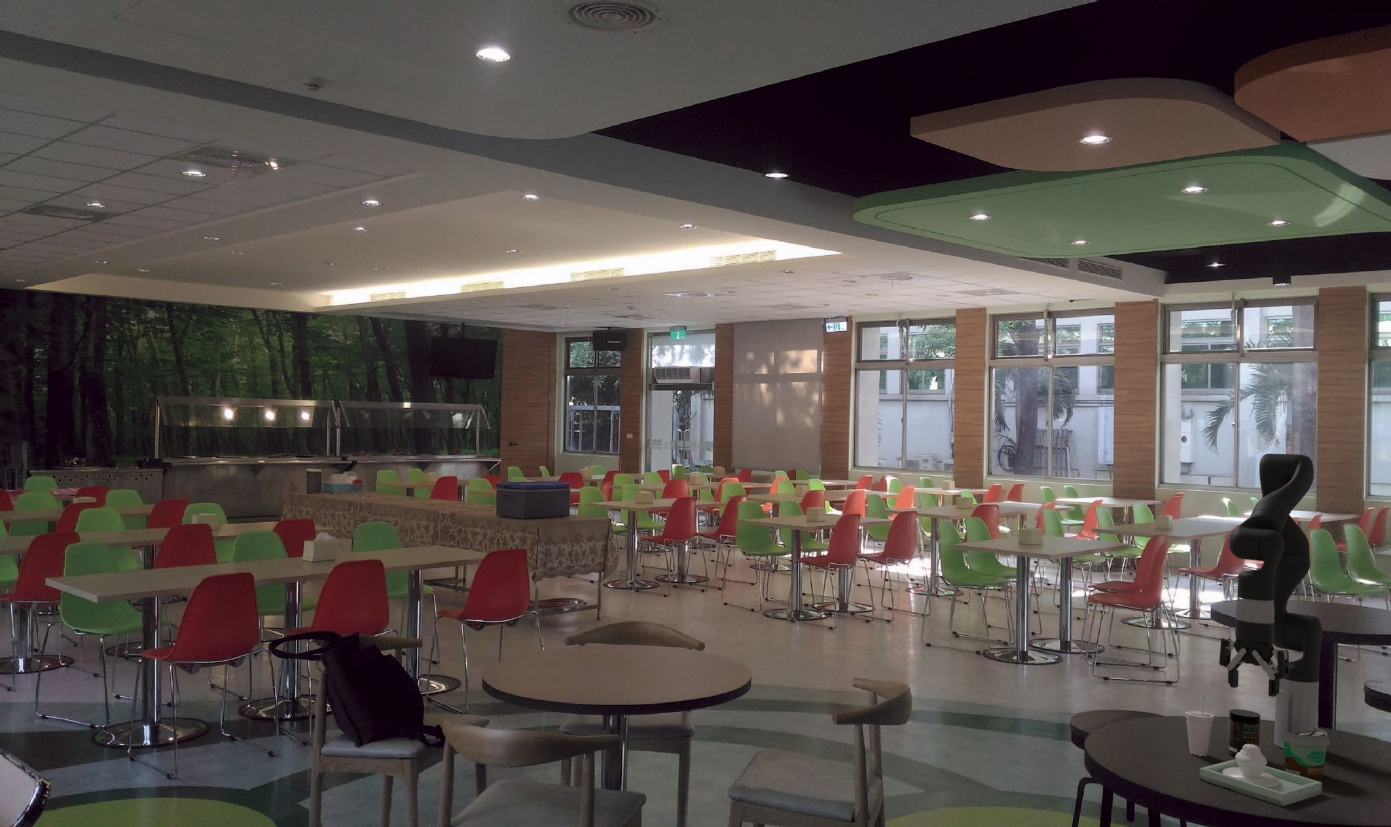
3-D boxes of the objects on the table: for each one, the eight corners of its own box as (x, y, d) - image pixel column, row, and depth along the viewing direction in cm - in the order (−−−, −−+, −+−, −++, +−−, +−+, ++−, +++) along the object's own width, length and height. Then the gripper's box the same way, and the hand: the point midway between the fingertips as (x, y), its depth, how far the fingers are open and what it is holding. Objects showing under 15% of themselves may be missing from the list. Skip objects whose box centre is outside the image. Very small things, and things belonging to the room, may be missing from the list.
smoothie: (1216, 759, 240) (1218, 700, 241) (1187, 757, 242) (1189, 698, 242) (1208, 751, 247) (1210, 694, 247) (1180, 748, 248) (1182, 691, 248)
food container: (1308, 785, 224) (1309, 740, 224) (1281, 776, 230) (1282, 732, 230) (1341, 778, 230) (1342, 734, 230) (1313, 769, 235) (1315, 726, 236)
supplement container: (1266, 759, 242) (1267, 715, 242) (1246, 762, 239) (1247, 717, 240) (1241, 750, 248) (1242, 708, 248) (1221, 753, 246) (1222, 710, 246)
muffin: (1269, 776, 224) (1270, 744, 224) (1262, 782, 219) (1263, 750, 219) (1239, 769, 228) (1240, 737, 228) (1231, 775, 223) (1232, 743, 224)
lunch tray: (1238, 769, 234) (1239, 758, 234) (1321, 794, 219) (1321, 782, 219) (1199, 779, 225) (1199, 768, 225) (1282, 806, 210) (1282, 794, 210)
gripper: (1296, 623, 221) (1294, 697, 221) (1232, 612, 233) (1230, 682, 232) (1278, 625, 217) (1276, 701, 216) (1214, 614, 229) (1212, 686, 228)
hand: (1252, 691), depth 224 cm, fingers open, 8 cm apart
